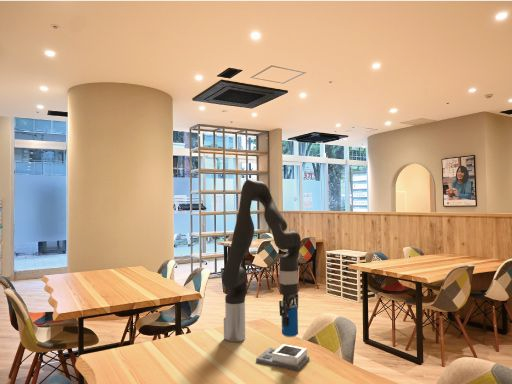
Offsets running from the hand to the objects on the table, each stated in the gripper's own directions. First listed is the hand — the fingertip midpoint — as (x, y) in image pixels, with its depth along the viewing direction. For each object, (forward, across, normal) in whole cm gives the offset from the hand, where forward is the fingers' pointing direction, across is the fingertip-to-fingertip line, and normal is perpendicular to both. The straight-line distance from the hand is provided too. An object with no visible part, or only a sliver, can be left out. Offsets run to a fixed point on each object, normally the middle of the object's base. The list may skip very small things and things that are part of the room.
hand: (289, 323), depth 149 cm
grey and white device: (+15, 0, -3) cm, 16 cm away
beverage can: (+5, 0, 0) cm, 5 cm away
